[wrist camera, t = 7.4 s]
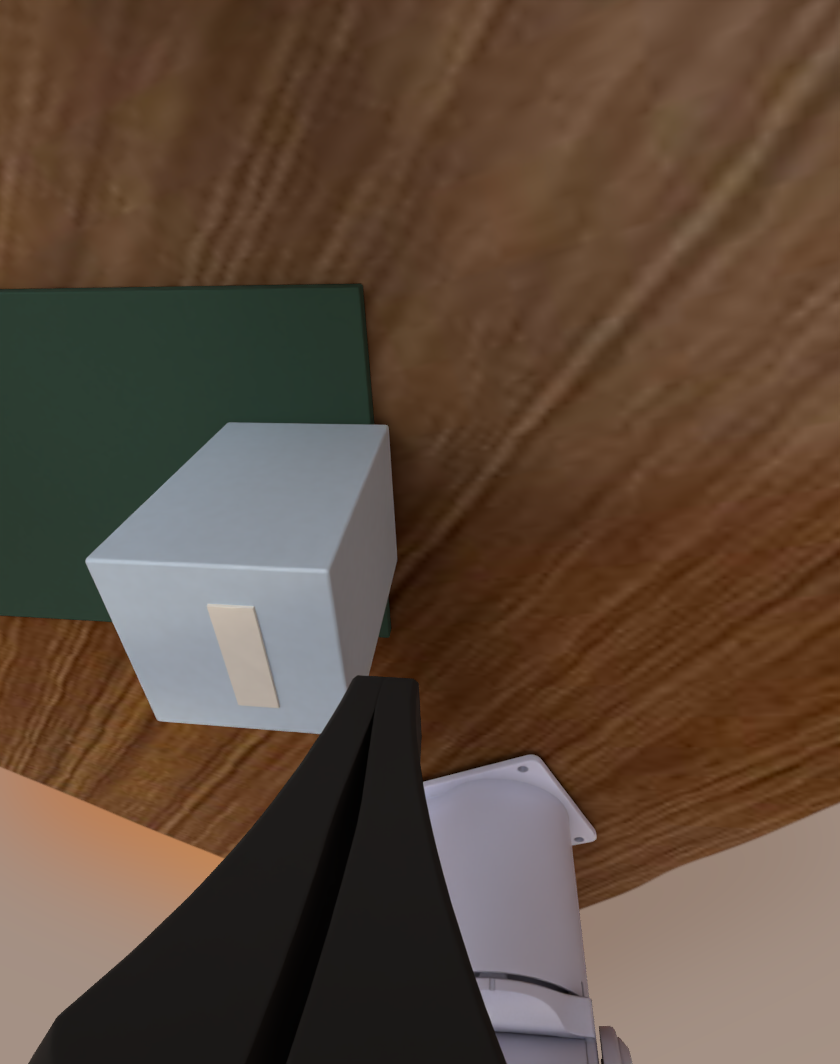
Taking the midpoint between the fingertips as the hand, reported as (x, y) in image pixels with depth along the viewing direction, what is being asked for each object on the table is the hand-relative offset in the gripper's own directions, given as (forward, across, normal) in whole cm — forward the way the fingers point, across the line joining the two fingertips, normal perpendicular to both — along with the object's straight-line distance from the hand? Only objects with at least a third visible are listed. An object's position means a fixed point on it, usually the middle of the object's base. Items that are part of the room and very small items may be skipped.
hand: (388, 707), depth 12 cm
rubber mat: (+10, +12, 0) cm, 15 cm away
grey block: (+5, +4, 0) cm, 7 cm away
